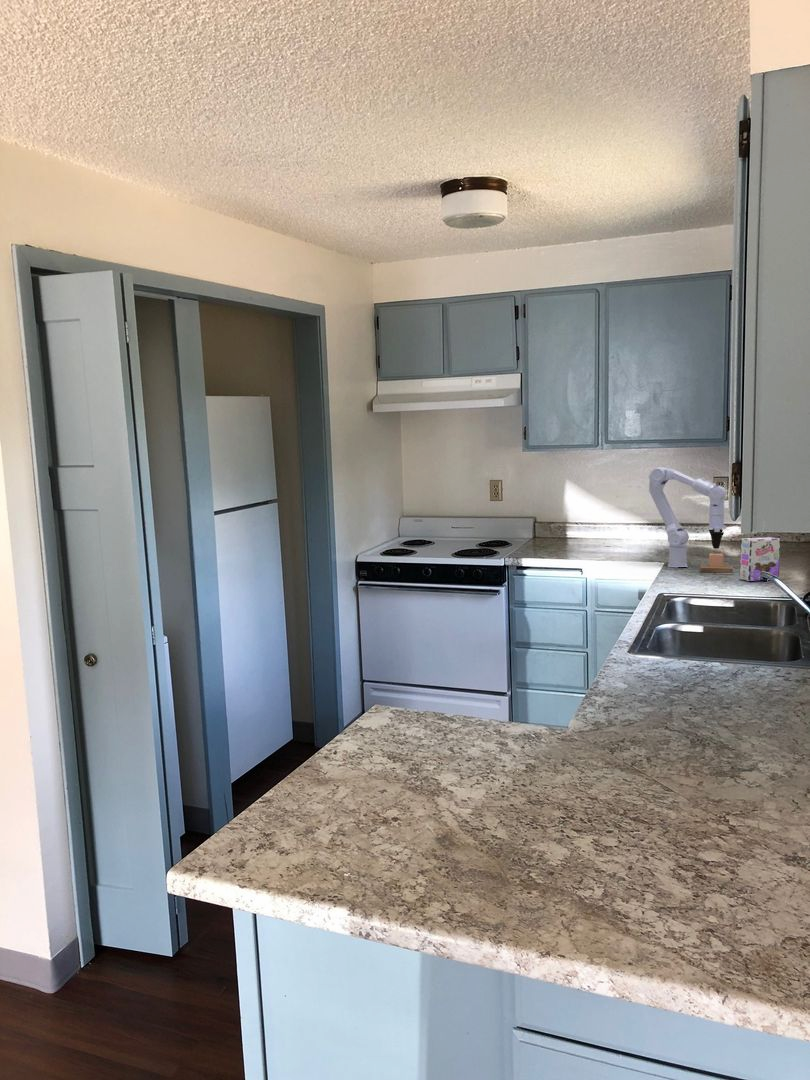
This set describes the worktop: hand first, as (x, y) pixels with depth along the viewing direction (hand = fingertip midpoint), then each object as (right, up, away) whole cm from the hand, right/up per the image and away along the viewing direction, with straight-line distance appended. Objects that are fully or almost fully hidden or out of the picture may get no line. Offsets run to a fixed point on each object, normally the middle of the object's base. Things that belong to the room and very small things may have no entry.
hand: (715, 547), depth 351 cm
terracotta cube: (-2, -8, -6) cm, 10 cm away
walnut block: (-2, -11, -5) cm, 12 cm away
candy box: (+7, -13, -27) cm, 31 cm away
